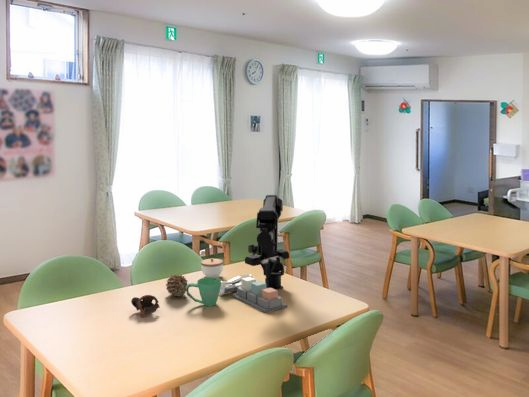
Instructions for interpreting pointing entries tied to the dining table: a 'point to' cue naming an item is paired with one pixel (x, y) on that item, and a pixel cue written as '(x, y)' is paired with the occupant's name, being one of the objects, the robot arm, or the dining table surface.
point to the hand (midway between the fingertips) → (267, 277)
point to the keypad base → (259, 301)
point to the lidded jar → (212, 267)
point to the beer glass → (232, 284)
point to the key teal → (257, 287)
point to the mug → (206, 290)
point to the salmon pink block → (269, 293)
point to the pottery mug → (145, 304)
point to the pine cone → (176, 285)
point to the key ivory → (247, 283)
